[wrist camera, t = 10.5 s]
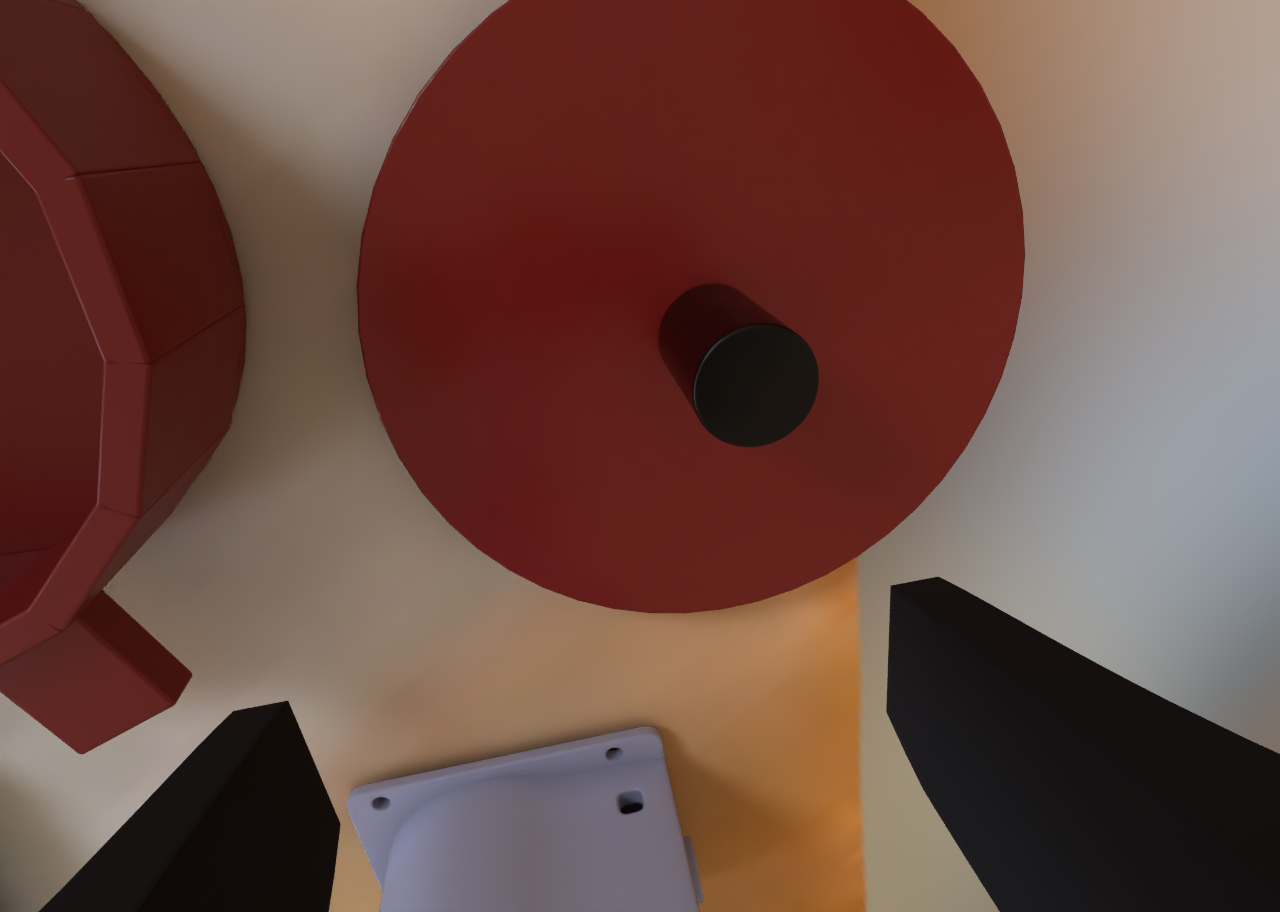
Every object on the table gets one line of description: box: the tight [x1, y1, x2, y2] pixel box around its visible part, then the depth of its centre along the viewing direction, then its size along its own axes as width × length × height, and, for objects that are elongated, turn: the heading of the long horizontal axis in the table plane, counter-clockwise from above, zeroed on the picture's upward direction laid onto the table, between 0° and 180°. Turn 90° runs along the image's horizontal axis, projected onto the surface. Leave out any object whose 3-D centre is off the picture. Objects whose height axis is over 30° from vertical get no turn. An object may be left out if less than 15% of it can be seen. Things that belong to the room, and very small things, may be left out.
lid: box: [357, 0, 1025, 613], centre depth 16 cm, size 15×15×5 cm
